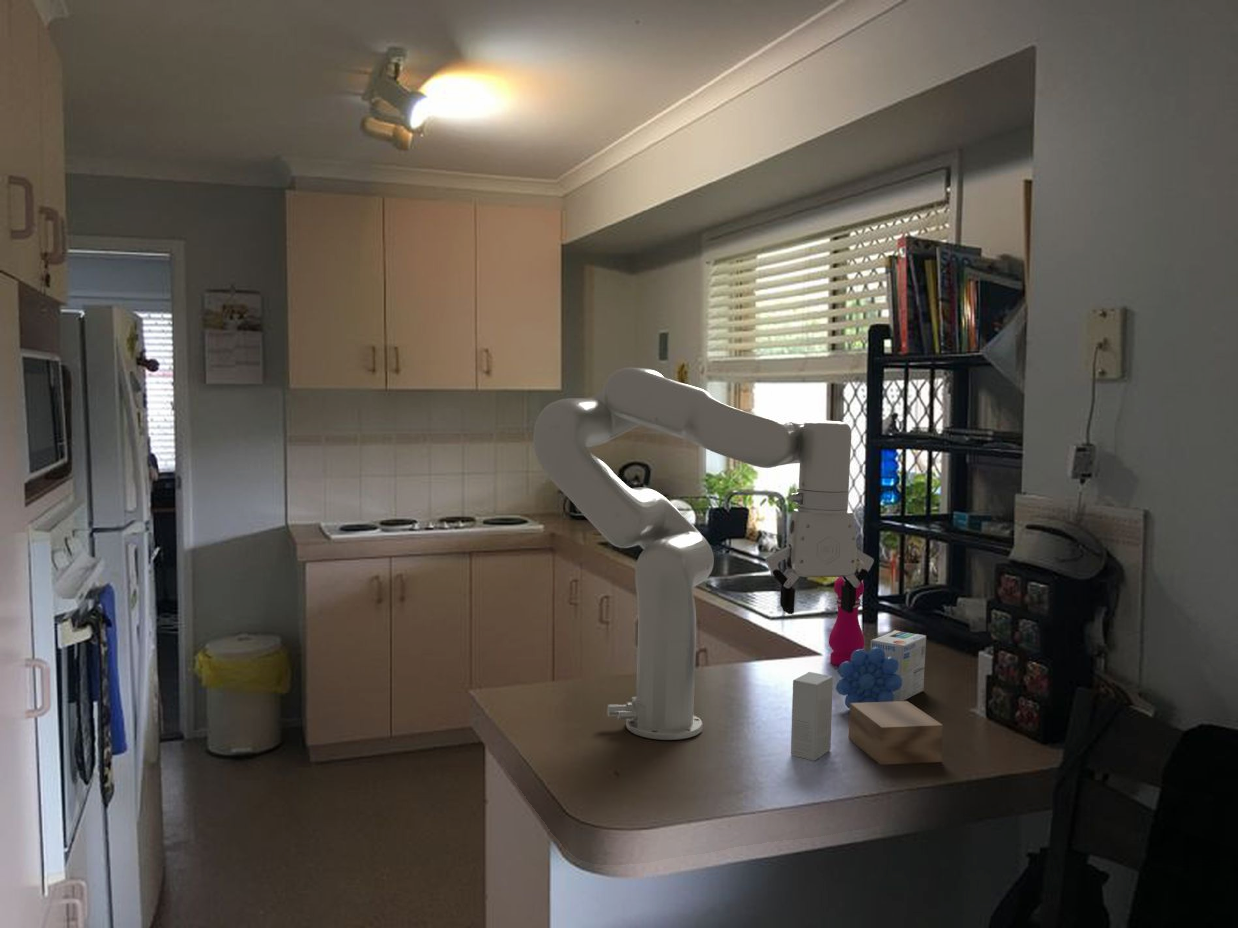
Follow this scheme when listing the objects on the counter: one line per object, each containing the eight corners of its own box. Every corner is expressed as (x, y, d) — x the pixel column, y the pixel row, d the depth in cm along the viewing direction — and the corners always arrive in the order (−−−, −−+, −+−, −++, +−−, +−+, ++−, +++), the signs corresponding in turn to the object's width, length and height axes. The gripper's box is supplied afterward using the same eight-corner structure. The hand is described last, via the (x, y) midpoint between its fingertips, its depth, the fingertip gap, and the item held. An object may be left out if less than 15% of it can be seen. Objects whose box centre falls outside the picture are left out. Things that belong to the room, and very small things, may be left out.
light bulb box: (891, 683, 201) (894, 628, 200) (924, 691, 196) (927, 635, 195) (866, 695, 192) (869, 638, 191) (900, 703, 188) (903, 645, 187)
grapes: (907, 713, 182) (910, 646, 182) (896, 723, 177) (899, 654, 176) (843, 701, 188) (846, 636, 188) (830, 710, 183) (833, 643, 182)
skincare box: (806, 744, 165) (809, 670, 164) (831, 750, 163) (834, 675, 162) (789, 755, 160) (792, 679, 159) (814, 761, 158) (817, 684, 157)
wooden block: (880, 765, 157) (881, 727, 157) (848, 738, 169) (849, 702, 169) (941, 763, 159) (942, 724, 159) (905, 736, 171) (907, 700, 171)
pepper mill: (851, 657, 219) (855, 563, 218) (870, 666, 212) (874, 569, 211) (821, 659, 217) (825, 564, 215) (839, 668, 210) (843, 571, 208)
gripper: (778, 504, 153) (772, 618, 155) (886, 505, 157) (880, 616, 158) (760, 498, 161) (756, 607, 162) (864, 499, 164) (859, 605, 166)
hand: (817, 611), depth 160 cm, fingers open, 9 cm apart
